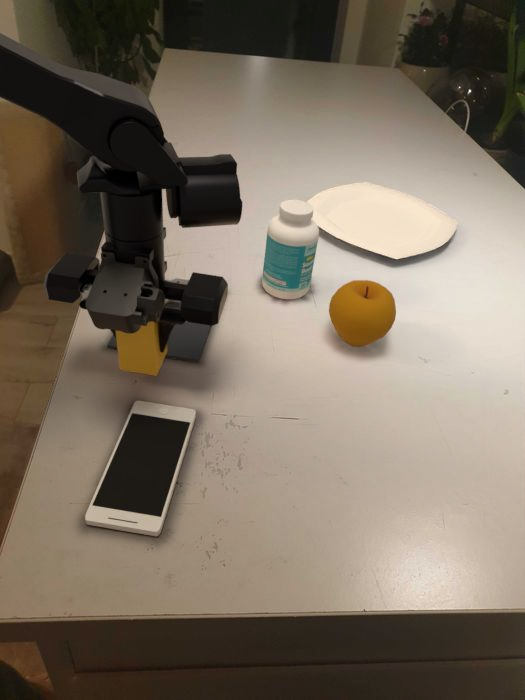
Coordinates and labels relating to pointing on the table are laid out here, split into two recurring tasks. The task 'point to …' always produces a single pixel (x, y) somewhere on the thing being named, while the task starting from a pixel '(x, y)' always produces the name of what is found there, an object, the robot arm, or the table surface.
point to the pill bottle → (290, 250)
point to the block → (141, 349)
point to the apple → (362, 312)
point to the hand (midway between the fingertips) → (142, 346)
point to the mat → (182, 341)
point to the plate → (381, 220)
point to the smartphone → (142, 469)
